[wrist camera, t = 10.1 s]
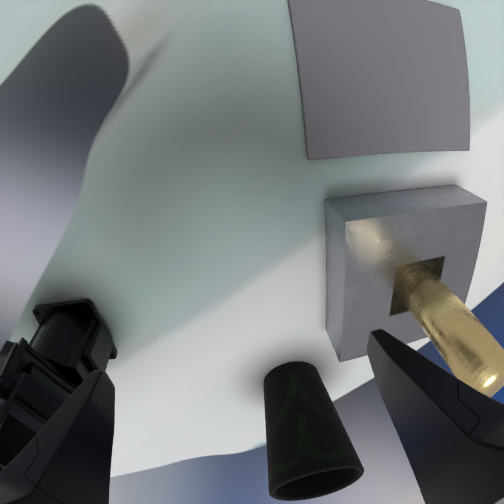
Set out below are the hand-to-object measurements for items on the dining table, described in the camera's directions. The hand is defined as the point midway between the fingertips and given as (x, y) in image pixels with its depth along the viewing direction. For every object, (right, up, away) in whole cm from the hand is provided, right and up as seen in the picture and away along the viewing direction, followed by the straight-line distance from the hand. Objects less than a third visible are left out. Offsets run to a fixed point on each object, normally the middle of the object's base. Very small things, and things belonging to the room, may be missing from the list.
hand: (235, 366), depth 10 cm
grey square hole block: (+12, +3, +15) cm, 19 cm away
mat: (+10, +16, +8) cm, 20 cm away
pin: (+12, +3, +15) cm, 19 cm away
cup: (+4, -9, +20) cm, 23 cm away
